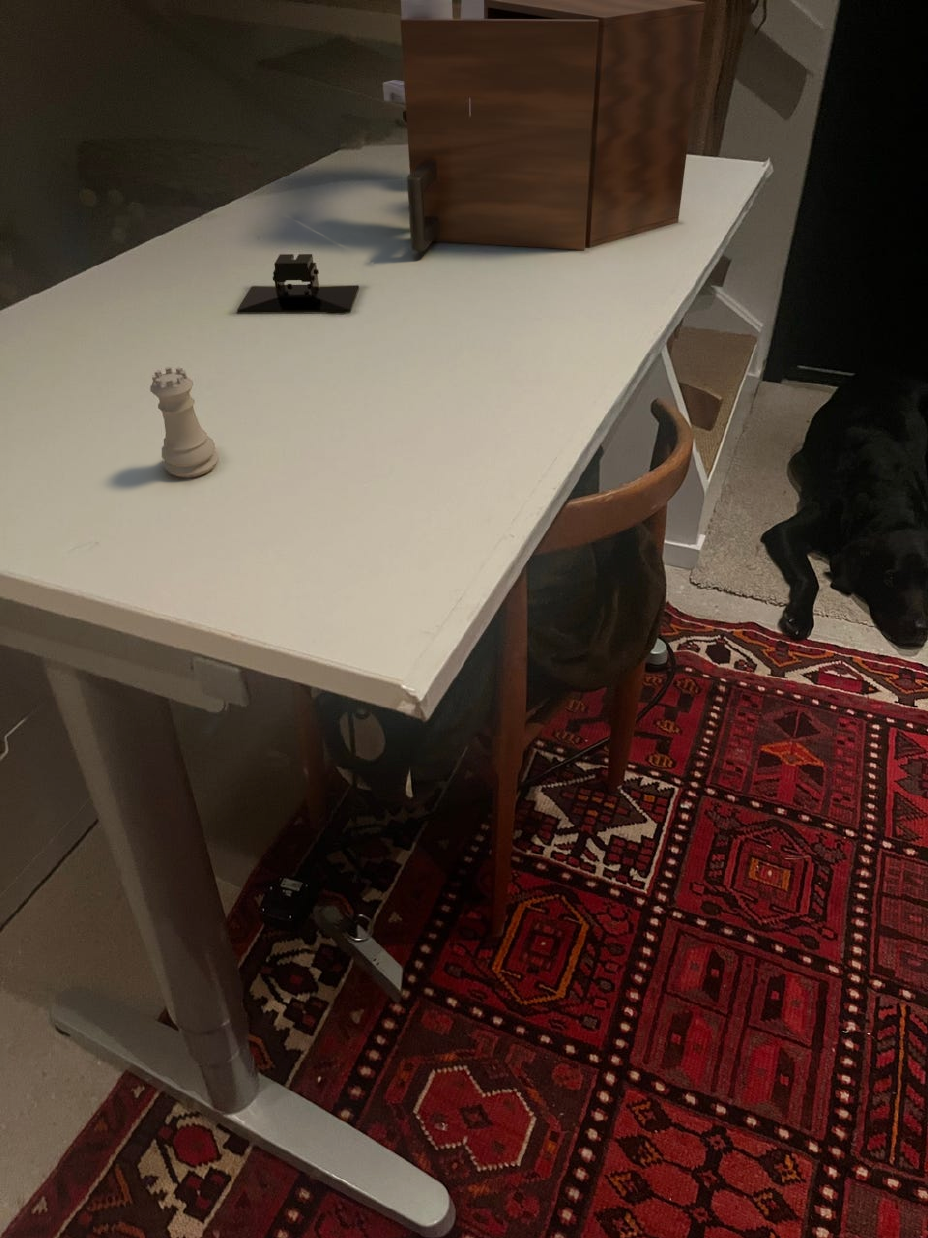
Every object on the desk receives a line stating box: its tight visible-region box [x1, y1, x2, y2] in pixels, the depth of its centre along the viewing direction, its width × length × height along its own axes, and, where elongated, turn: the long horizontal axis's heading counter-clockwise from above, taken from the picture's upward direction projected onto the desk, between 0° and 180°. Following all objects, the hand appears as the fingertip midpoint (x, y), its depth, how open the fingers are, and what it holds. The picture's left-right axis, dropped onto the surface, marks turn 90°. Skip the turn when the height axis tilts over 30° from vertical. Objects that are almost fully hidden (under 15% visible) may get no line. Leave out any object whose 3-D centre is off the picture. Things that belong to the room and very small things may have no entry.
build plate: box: [236, 253, 360, 315], centre depth 98 cm, size 12×7×5 cm, turn 87°
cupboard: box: [484, 0, 706, 249], centre depth 111 cm, size 15×22×24 cm
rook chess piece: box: [149, 366, 220, 478], centre depth 71 cm, size 4×4×8 cm
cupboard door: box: [399, 18, 599, 252], centre depth 101 cm, size 8×22×23 cm, turn 76°
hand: (434, 173), depth 111 cm, fingers closed
